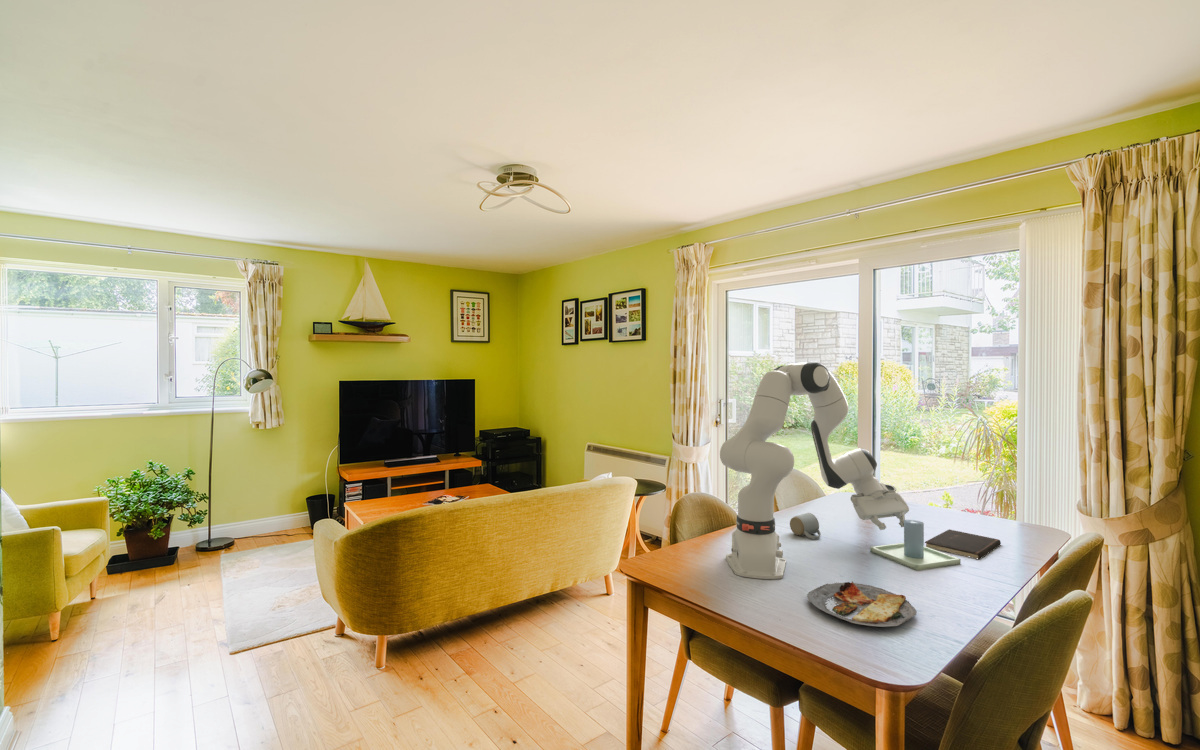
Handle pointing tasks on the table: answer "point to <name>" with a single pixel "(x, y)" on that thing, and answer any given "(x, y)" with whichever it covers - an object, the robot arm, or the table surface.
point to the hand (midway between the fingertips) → (894, 527)
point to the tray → (929, 560)
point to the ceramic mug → (805, 525)
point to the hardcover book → (963, 543)
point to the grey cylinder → (914, 539)
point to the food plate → (863, 604)
